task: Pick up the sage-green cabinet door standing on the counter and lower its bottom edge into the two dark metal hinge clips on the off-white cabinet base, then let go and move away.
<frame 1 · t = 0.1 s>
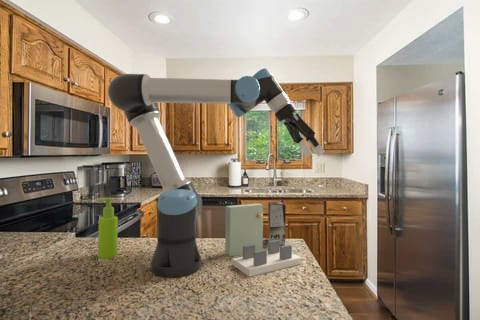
hand: (315, 154, 98), 36 cm above the countertop, tool tilted 35°, fingers open, 13 cm apart
cabinet base: (267, 264, 85), on the countertop
soap dispenser: (106, 256, 91), on the countertop
door: (244, 251, 97), on the countertop
coffee box: (276, 242, 110), on the countertop
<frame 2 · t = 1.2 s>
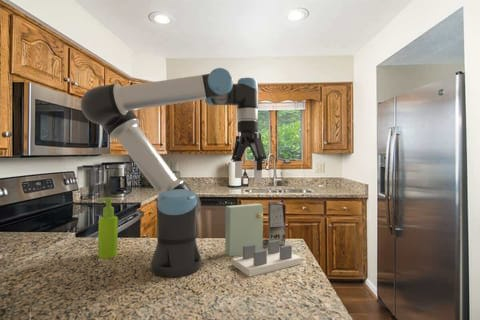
hand: (247, 179, 98), 27 cm above the countertop, tool pointing down, fingers open, 13 cm apart
nothing on the countertop moved.
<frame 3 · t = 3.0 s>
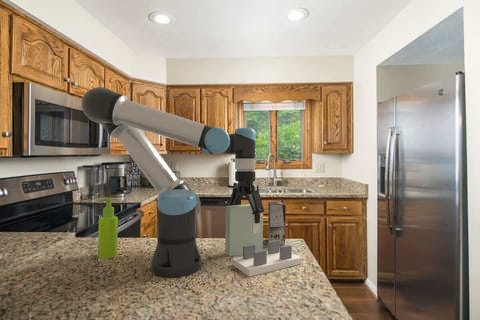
hand: (245, 228, 97), 9 cm above the countertop, tool pointing down, fingers open, 13 cm apart
nothing on the countertop moved.
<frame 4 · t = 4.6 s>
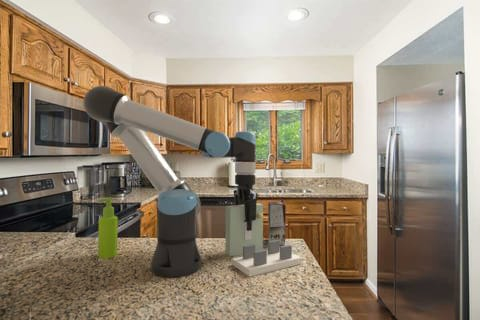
hand: (244, 237, 97), 5 cm above the countertop, tool pointing down, fingers closed on door, 3 cm apart
door: (244, 251, 97), on the countertop, touching gripper
everything else where it was.
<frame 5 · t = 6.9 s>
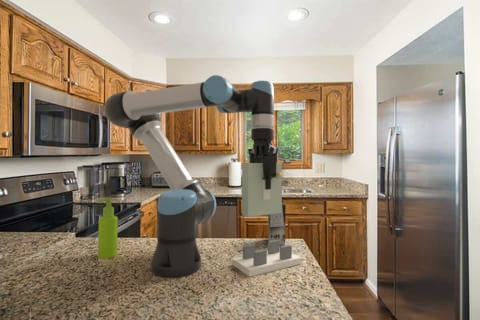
hand: (262, 198, 89), 21 cm above the countertop, tool pointing down, fingers closed on door, 3 cm apart
door: (262, 213, 89), point 16 cm above the countertop, touching gripper
everything else where it was.
when the fingers open (9 cm above the countertop, at t = 9.2 s): door drops 1 cm, resting on cabinet base.
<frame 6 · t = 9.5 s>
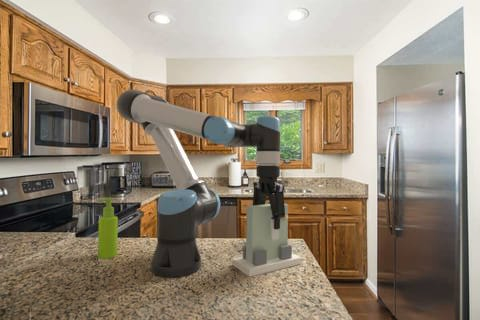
hand: (267, 236, 85), 9 cm above the countertop, tool pointing down, fingers open, 7 cm apart
door: (267, 258, 85), point 2 cm above the countertop, touching cabinet base
everything else where it was.
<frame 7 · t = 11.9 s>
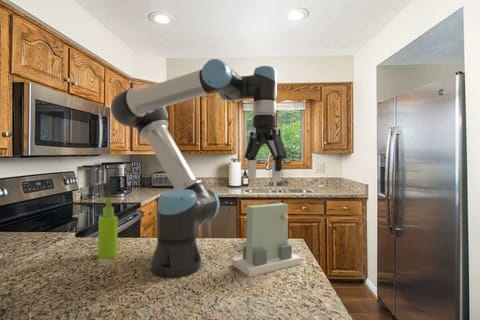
hand: (263, 180, 87), 27 cm above the countertop, tool pointing down, fingers open, 13 cm apart
nothing on the countertop moved.
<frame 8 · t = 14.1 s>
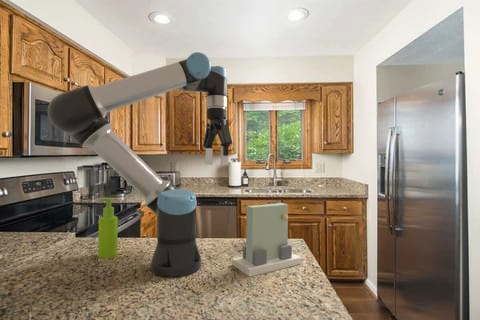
hand: (216, 164, 100), 32 cm above the countertop, tool pointing down, fingers open, 13 cm apart
nothing on the countertop moved.
at the end: door 0.1 cm off-centre on the cabinet base, point 2.0 cm above the cabinet base's base; door tilted 0°; the gripper is holding nothing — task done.
